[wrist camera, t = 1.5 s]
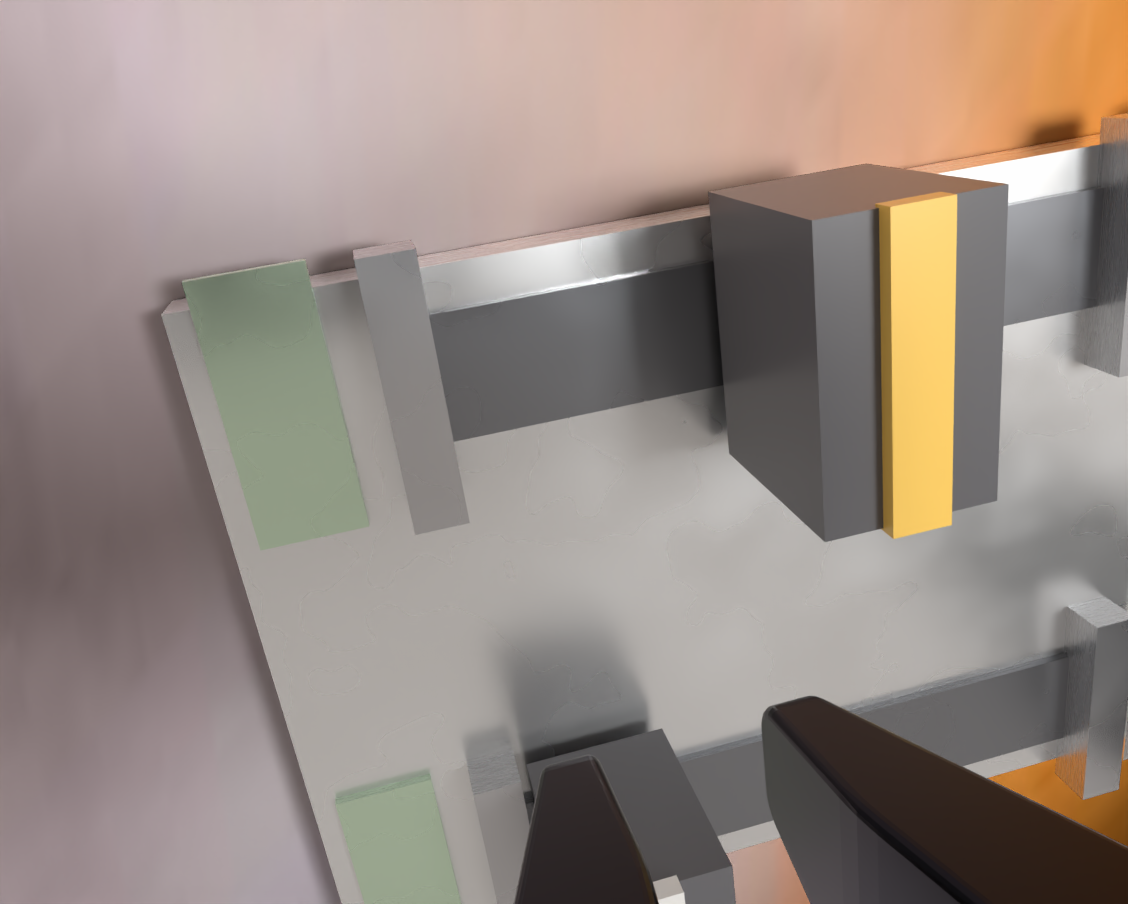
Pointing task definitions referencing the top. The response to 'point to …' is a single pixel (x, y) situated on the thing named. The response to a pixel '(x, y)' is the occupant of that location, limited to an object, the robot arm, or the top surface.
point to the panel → (641, 528)
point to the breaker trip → (864, 343)
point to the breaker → (661, 818)
